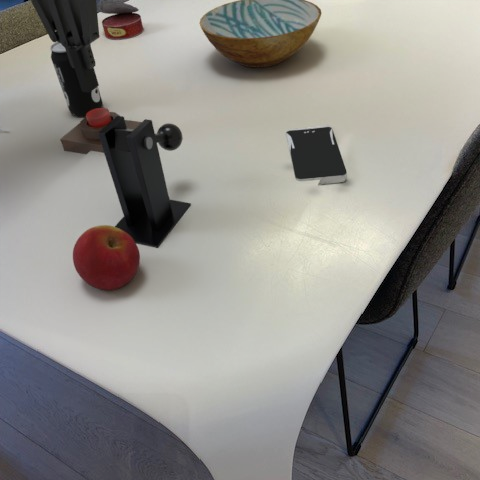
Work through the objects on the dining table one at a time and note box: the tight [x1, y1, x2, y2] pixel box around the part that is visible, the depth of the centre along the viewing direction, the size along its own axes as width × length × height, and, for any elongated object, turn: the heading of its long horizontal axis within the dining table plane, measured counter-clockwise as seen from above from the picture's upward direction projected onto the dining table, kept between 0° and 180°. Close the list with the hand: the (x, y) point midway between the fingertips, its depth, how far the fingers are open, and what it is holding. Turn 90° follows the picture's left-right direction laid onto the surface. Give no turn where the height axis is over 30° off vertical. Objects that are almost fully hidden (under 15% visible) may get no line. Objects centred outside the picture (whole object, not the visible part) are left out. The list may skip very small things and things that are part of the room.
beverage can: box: [49, 42, 103, 118], centre depth 92 cm, size 7×7×12 cm
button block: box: [59, 111, 143, 155], centre depth 86 cm, size 12×9×4 cm
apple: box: [72, 224, 141, 291], centre depth 60 cm, size 8×8×8 cm
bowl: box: [199, 0, 323, 68], centre depth 104 cm, size 25×25×8 cm
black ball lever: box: [115, 122, 184, 152], centre depth 65 cm, size 13×4×4 cm, turn 157°
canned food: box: [96, 0, 144, 41], centre depth 123 cm, size 11×10×10 cm
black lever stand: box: [98, 115, 192, 249], centre depth 65 cm, size 10×8×15 cm
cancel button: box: [86, 107, 112, 128], centre depth 84 cm, size 4×4×2 cm
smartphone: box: [285, 125, 348, 186], centre depth 78 cm, size 8×1×15 cm
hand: (90, 88), depth 80 cm, fingers closed
